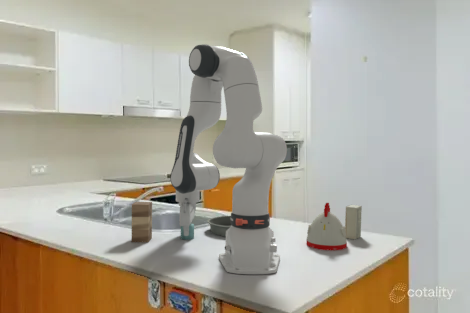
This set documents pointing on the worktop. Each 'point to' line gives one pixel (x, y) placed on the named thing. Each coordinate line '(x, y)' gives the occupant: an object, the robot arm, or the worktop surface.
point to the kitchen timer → (326, 232)
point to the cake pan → (220, 225)
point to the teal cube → (191, 233)
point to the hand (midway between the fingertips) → (187, 233)
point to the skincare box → (353, 221)
